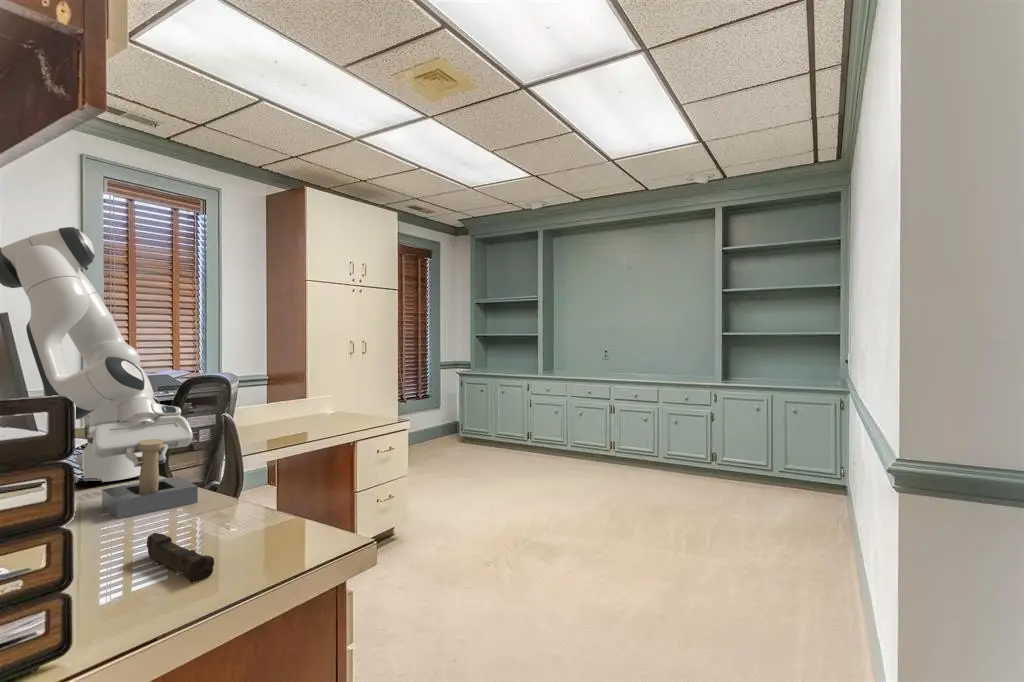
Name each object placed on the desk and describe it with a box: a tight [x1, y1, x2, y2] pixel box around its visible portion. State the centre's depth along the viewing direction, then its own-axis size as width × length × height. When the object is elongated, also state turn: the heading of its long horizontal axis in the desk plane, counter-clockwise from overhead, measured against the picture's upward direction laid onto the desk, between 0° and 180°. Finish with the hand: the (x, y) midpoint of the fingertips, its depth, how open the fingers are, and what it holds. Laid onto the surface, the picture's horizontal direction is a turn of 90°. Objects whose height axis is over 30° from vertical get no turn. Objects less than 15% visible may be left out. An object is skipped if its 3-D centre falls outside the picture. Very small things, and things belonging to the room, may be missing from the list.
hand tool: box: [146, 532, 215, 584], centre depth 92 cm, size 19×4×5 cm, turn 54°
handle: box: [138, 439, 163, 494], centre depth 128 cm, size 5×6×15 cm
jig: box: [101, 476, 199, 520], centre depth 128 cm, size 14×16×4 cm
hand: (150, 463), depth 127 cm, fingers closed on handle, 3 cm apart
